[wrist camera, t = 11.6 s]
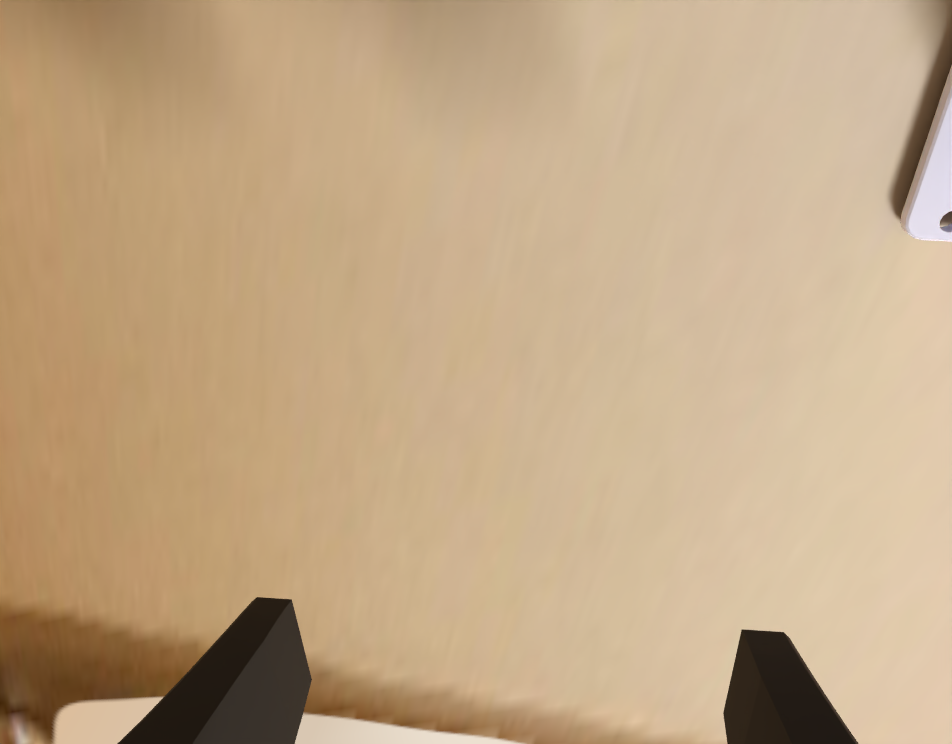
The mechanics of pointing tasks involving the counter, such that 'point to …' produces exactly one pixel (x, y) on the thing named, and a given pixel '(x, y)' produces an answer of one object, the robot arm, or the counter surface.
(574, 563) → the counter surface
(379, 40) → the counter surface
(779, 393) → the counter surface
